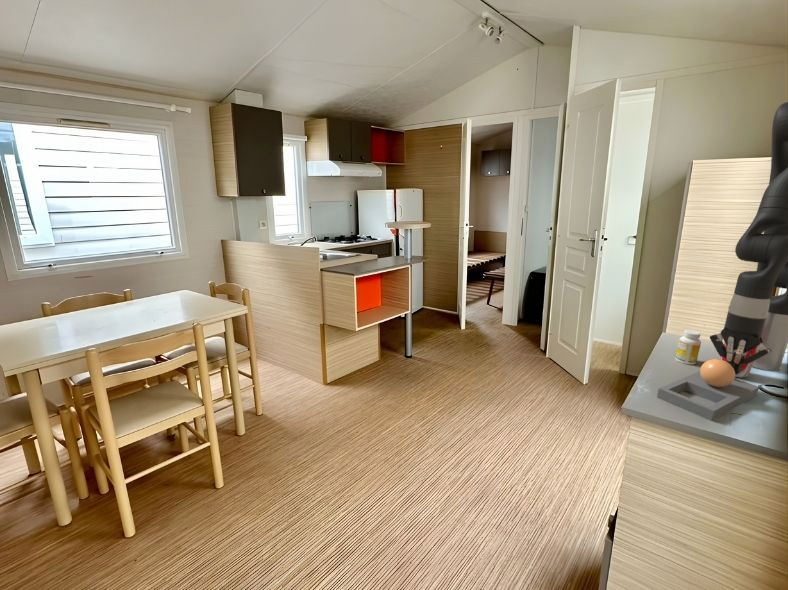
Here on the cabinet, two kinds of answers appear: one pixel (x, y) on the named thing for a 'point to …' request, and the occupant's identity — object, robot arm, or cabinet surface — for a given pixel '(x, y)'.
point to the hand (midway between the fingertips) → (730, 374)
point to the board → (707, 395)
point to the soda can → (745, 367)
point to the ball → (717, 373)
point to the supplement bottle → (688, 347)
